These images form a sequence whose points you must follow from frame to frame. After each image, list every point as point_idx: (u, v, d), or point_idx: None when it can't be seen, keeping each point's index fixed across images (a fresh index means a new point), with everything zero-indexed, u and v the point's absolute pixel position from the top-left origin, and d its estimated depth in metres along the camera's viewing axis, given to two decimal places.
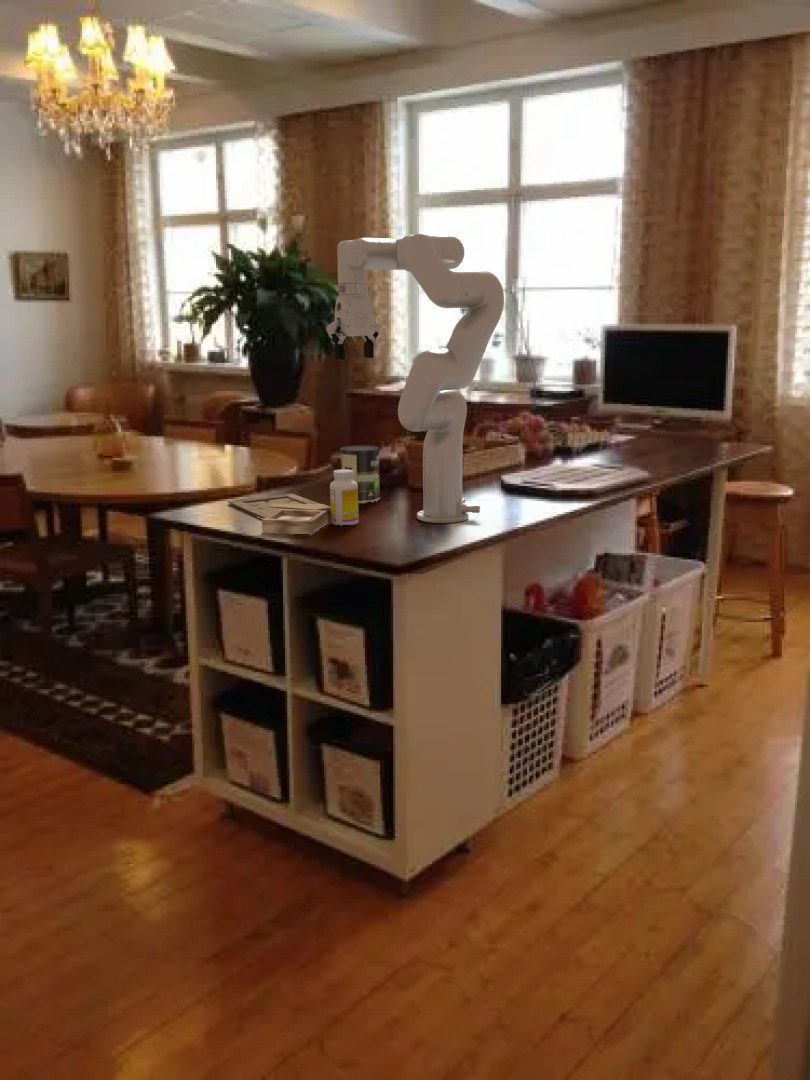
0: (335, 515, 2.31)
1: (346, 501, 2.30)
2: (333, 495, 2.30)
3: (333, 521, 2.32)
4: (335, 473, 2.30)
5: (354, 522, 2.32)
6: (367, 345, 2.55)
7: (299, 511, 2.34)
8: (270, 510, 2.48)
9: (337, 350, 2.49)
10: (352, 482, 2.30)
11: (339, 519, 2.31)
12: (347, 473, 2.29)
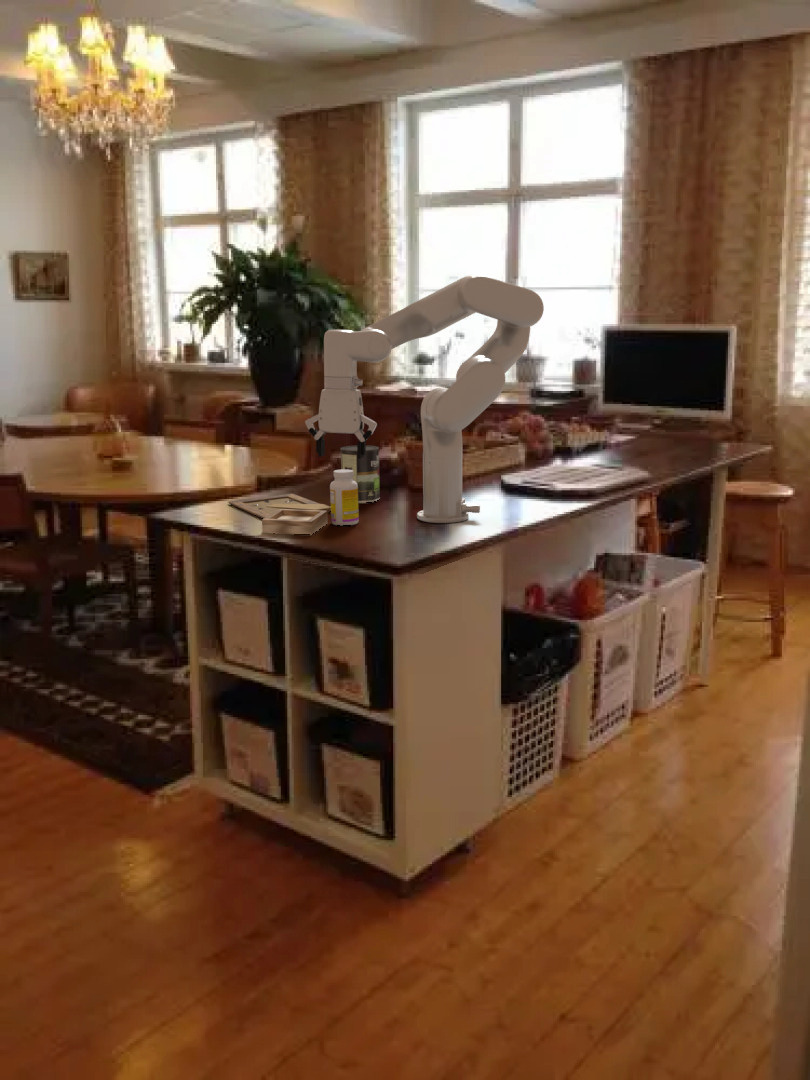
0: (335, 515, 2.31)
1: (346, 501, 2.30)
2: (333, 495, 2.30)
3: (333, 521, 2.32)
4: (335, 473, 2.30)
5: (354, 522, 2.32)
6: (322, 442, 2.30)
7: (299, 511, 2.34)
8: (270, 510, 2.48)
9: (365, 447, 2.29)
10: (352, 482, 2.30)
11: (339, 519, 2.31)
12: (347, 473, 2.29)
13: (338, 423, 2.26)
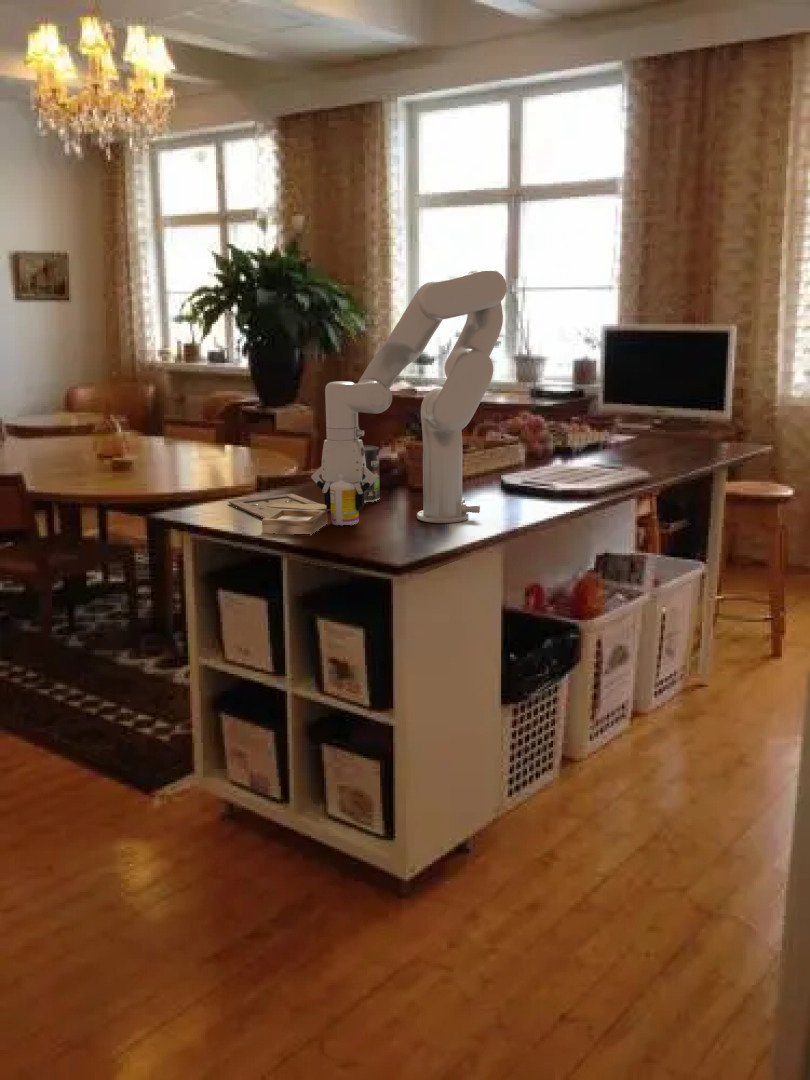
0: (335, 515, 2.31)
1: (346, 501, 2.30)
2: (333, 495, 2.30)
3: (333, 521, 2.32)
4: None
5: (354, 522, 2.32)
6: None
7: (299, 511, 2.34)
8: (270, 510, 2.48)
9: (363, 499, 2.32)
10: None
11: (339, 519, 2.31)
12: None
13: (340, 473, 2.29)
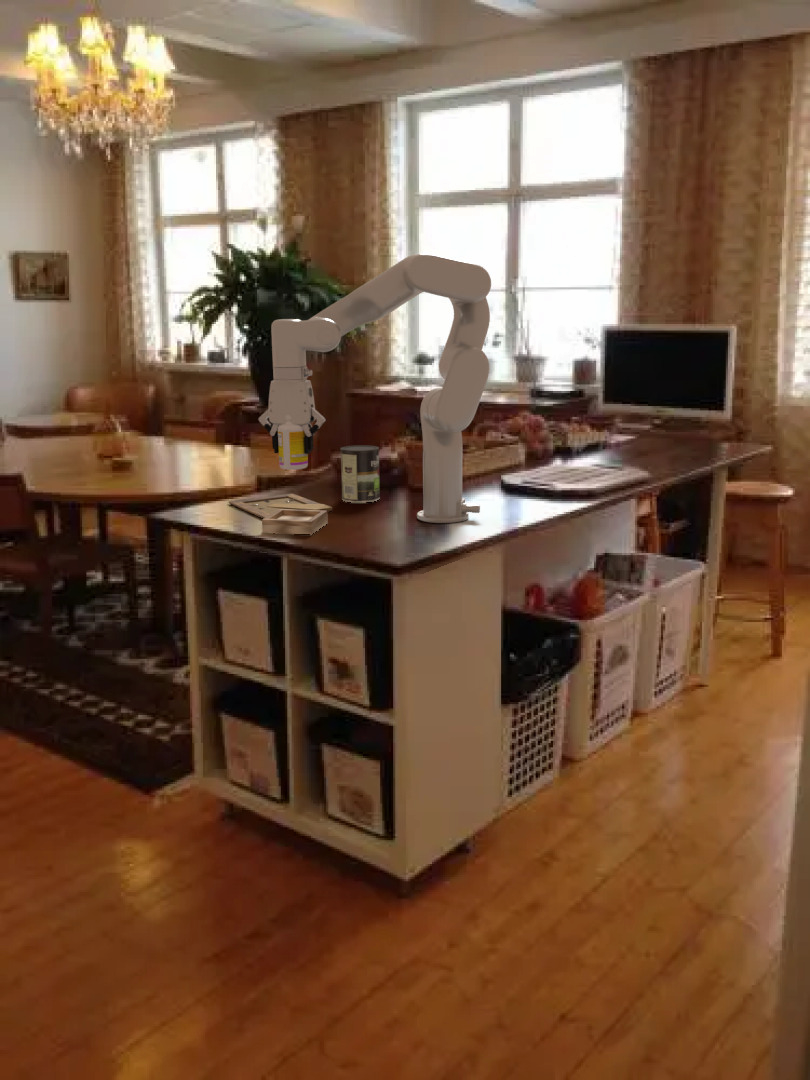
0: (282, 458, 2.23)
1: (294, 443, 2.22)
2: (280, 437, 2.22)
3: (281, 465, 2.24)
4: None
5: (303, 466, 2.24)
6: None
7: (299, 511, 2.34)
8: (270, 510, 2.48)
9: (312, 442, 2.24)
10: None
11: (287, 463, 2.23)
12: None
13: (288, 414, 2.21)
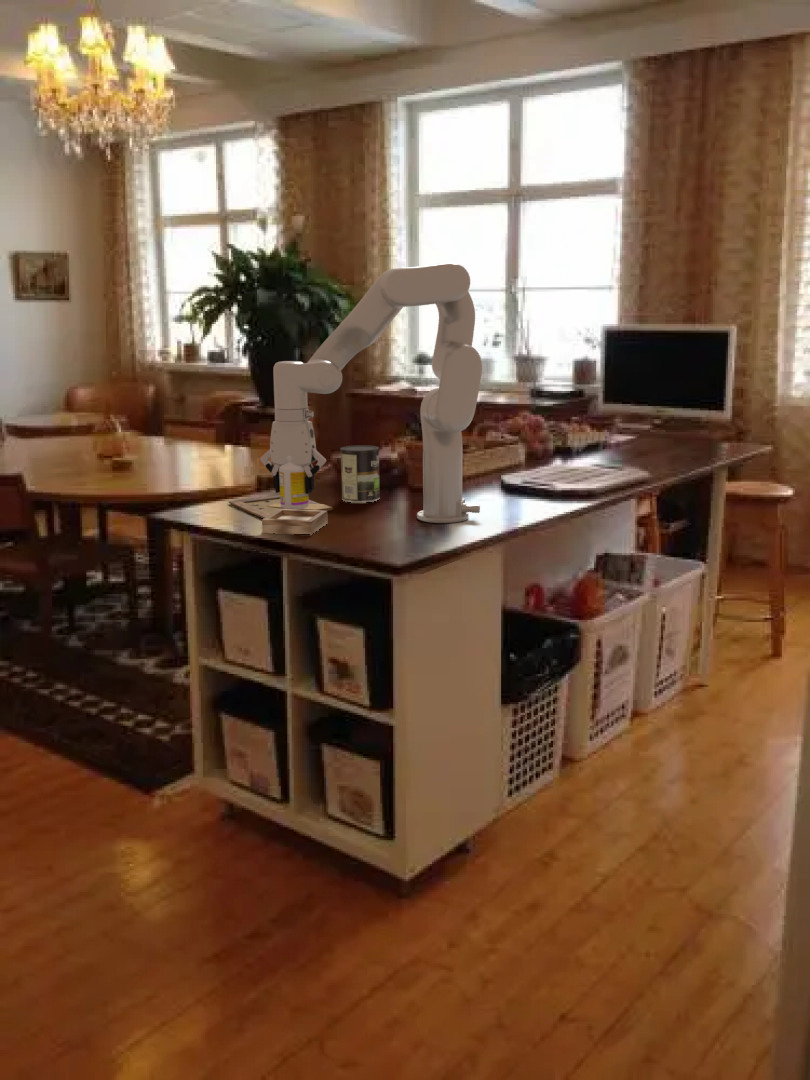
0: (283, 498, 2.26)
1: (295, 484, 2.24)
2: (282, 477, 2.25)
3: (282, 504, 2.26)
4: None
5: (303, 505, 2.26)
6: None
7: (299, 511, 2.34)
8: (270, 510, 2.48)
9: (313, 482, 2.26)
10: None
11: (288, 503, 2.25)
12: None
13: (289, 455, 2.23)
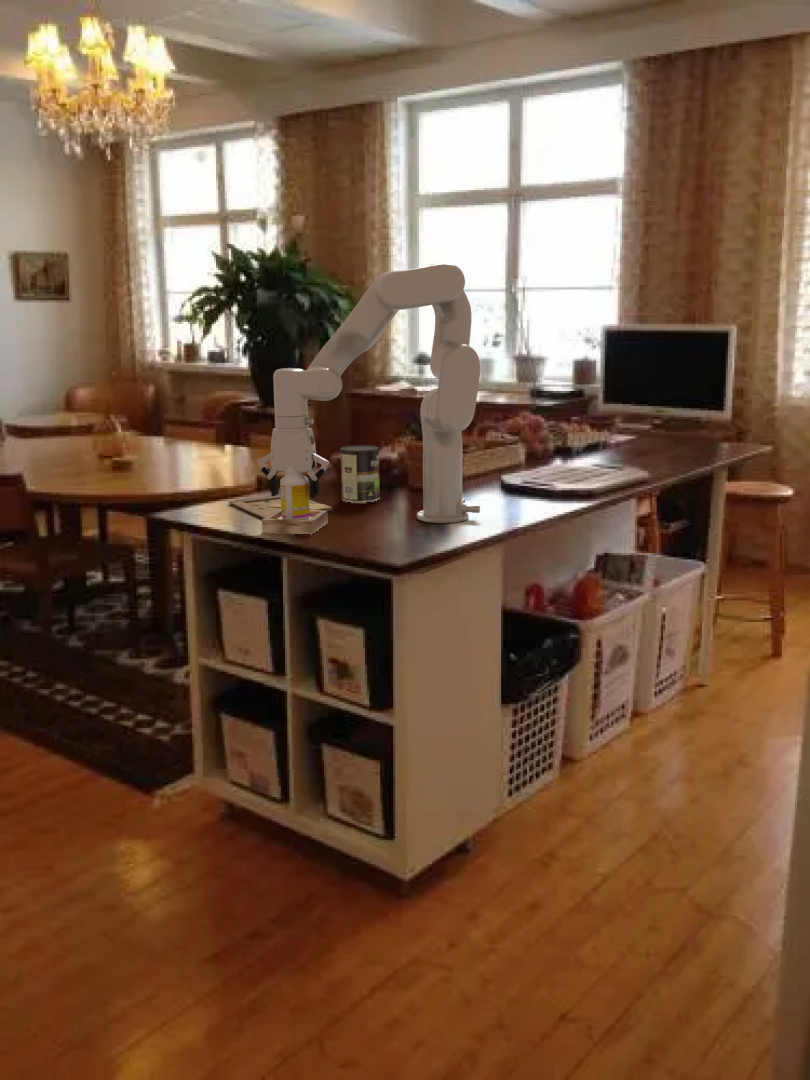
0: (285, 511, 2.26)
1: (296, 497, 2.25)
2: (283, 491, 2.25)
3: (283, 517, 2.27)
4: None
5: (305, 518, 2.27)
6: (276, 481, 2.28)
7: None
8: (270, 510, 2.48)
9: (318, 486, 2.26)
10: (302, 477, 2.26)
11: (289, 516, 2.26)
12: None
13: (290, 462, 2.24)
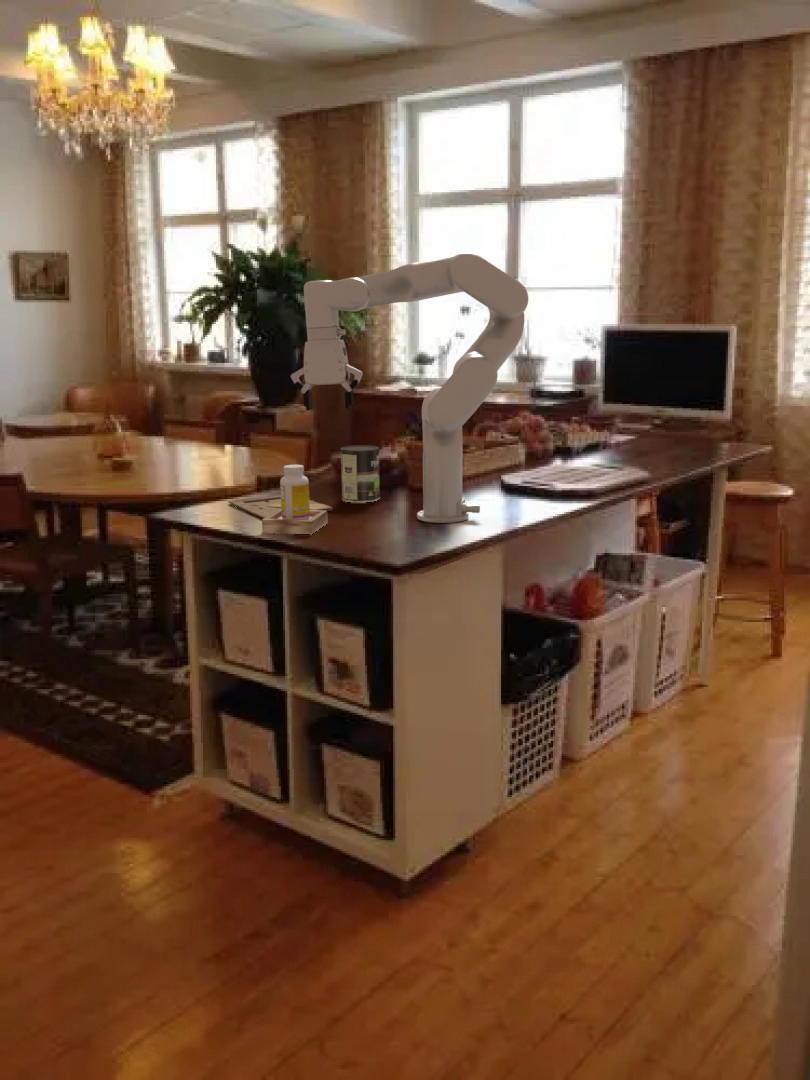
0: (285, 511, 2.26)
1: (296, 497, 2.25)
2: (283, 491, 2.25)
3: (283, 517, 2.27)
4: (285, 468, 2.25)
5: (305, 518, 2.27)
6: (309, 395, 2.31)
7: None
8: (270, 510, 2.48)
9: (352, 397, 2.29)
10: (302, 477, 2.26)
11: (289, 516, 2.26)
12: (297, 468, 2.25)
13: (323, 374, 2.26)
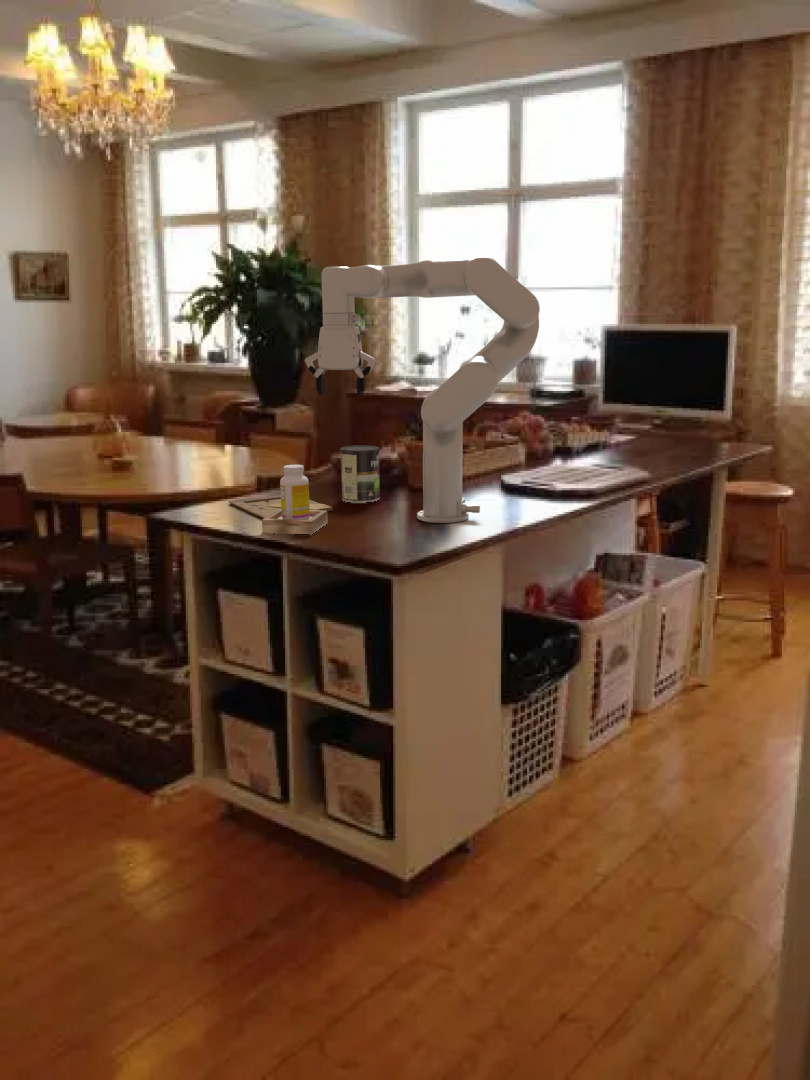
0: (285, 511, 2.26)
1: (296, 497, 2.25)
2: (283, 491, 2.25)
3: (283, 517, 2.27)
4: (285, 468, 2.25)
5: (305, 518, 2.27)
6: (322, 380, 2.33)
7: None
8: (270, 510, 2.48)
9: (364, 384, 2.31)
10: (302, 477, 2.26)
11: (289, 516, 2.26)
12: (297, 468, 2.24)
13: (337, 359, 2.29)
